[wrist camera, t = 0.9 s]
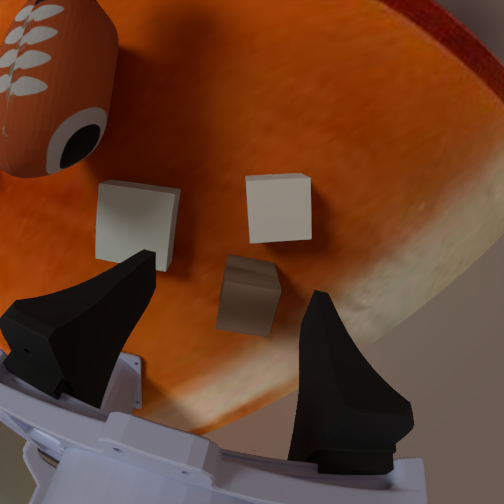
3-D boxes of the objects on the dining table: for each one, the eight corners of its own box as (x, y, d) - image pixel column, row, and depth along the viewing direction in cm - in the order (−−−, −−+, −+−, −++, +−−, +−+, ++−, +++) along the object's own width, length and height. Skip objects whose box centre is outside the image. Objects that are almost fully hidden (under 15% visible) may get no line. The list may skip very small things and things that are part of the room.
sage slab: (172, 259, 30) (165, 271, 27) (107, 247, 29) (95, 258, 27) (181, 188, 28) (174, 194, 25) (112, 178, 27) (99, 183, 24)
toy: (177, -43, 19) (142, -134, 5) (132, 168, 27) (36, 198, 12) (91, -34, 18) (23, -96, 4) (46, 163, 26) (-62, 190, 12)
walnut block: (263, 303, 32) (268, 337, 26) (219, 295, 31) (215, 328, 25) (274, 262, 30) (281, 290, 24) (227, 254, 30) (224, 280, 24)
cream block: (302, 226, 29) (311, 239, 25) (249, 229, 29) (250, 243, 25) (301, 172, 27) (310, 177, 24) (245, 175, 27) (245, 181, 24)
